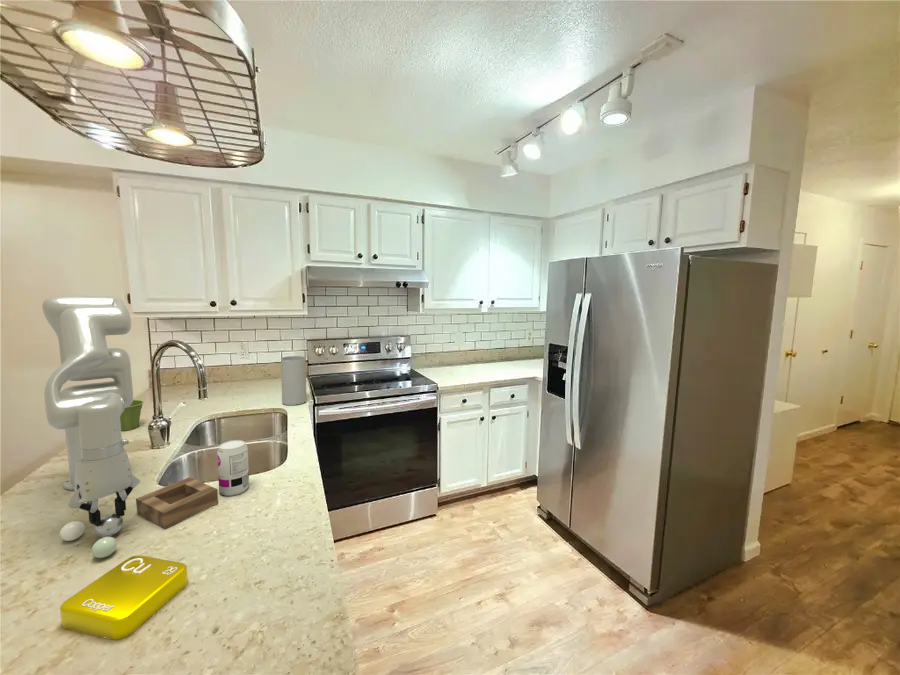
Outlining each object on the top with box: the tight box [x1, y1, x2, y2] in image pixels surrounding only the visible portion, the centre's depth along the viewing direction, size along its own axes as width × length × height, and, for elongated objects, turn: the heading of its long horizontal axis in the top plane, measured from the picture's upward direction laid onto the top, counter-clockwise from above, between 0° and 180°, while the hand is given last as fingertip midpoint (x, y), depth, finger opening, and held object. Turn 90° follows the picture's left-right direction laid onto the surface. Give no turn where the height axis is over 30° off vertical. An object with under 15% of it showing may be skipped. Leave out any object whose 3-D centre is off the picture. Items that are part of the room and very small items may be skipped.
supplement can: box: [216, 439, 250, 497], centre depth 118 cm, size 8×8×15 cm
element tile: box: [59, 555, 189, 640], centre depth 77 cm, size 15×15×5 cm
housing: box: [135, 476, 219, 530], centre depth 108 cm, size 14×14×4 cm
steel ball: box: [94, 513, 124, 538], centre depth 96 cm, size 5×5×5 cm
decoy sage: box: [91, 536, 118, 559], centre depth 89 cm, size 4×4×4 cm
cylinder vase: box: [280, 355, 307, 406], centre depth 208 cm, size 12×12×25 cm
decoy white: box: [59, 520, 86, 542], centre depth 94 cm, size 4×4×4 cm
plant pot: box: [120, 399, 145, 432], centre depth 166 cm, size 12×12×11 cm
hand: (108, 518), depth 96 cm, fingers closed on steel ball, 4 cm apart
